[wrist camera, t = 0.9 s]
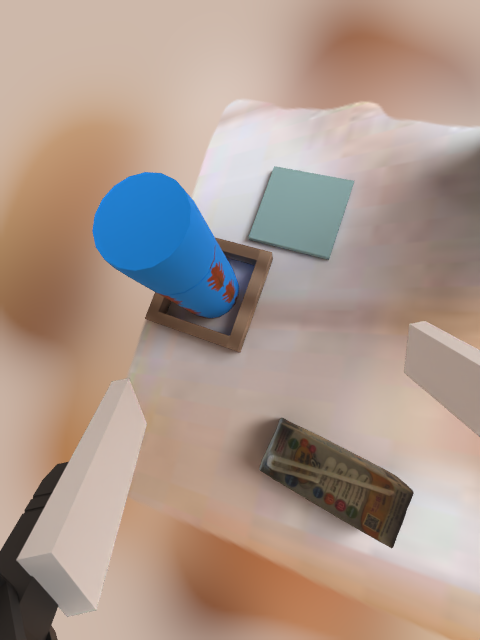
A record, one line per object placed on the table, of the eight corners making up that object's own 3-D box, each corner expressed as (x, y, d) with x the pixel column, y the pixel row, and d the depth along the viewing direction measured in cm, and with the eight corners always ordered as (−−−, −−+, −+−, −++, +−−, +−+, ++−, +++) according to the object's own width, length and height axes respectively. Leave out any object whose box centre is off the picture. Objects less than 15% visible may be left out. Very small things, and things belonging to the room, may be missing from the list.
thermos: (226, 327, 49) (164, 287, 25) (175, 308, 51) (74, 254, 27) (248, 273, 50) (210, 183, 26) (197, 256, 52) (119, 160, 28)
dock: (186, 236, 54) (180, 228, 51) (272, 259, 50) (271, 252, 47) (152, 321, 52) (144, 318, 49) (240, 352, 48) (237, 351, 45)
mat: (274, 170, 53) (274, 166, 52) (353, 184, 49) (354, 181, 48) (249, 239, 51) (248, 237, 50) (328, 259, 48) (329, 257, 47)
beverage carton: (281, 413, 45) (280, 420, 39) (399, 474, 40) (420, 494, 34) (261, 458, 44) (256, 474, 38) (379, 526, 40) (396, 556, 33)
